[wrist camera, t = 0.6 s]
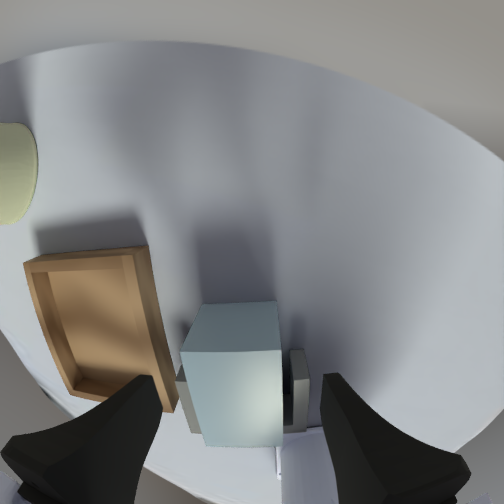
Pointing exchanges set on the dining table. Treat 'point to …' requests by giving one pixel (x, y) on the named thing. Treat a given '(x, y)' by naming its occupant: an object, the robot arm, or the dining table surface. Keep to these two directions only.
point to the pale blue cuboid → (236, 374)
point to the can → (16, 171)
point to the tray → (102, 320)
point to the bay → (292, 403)
